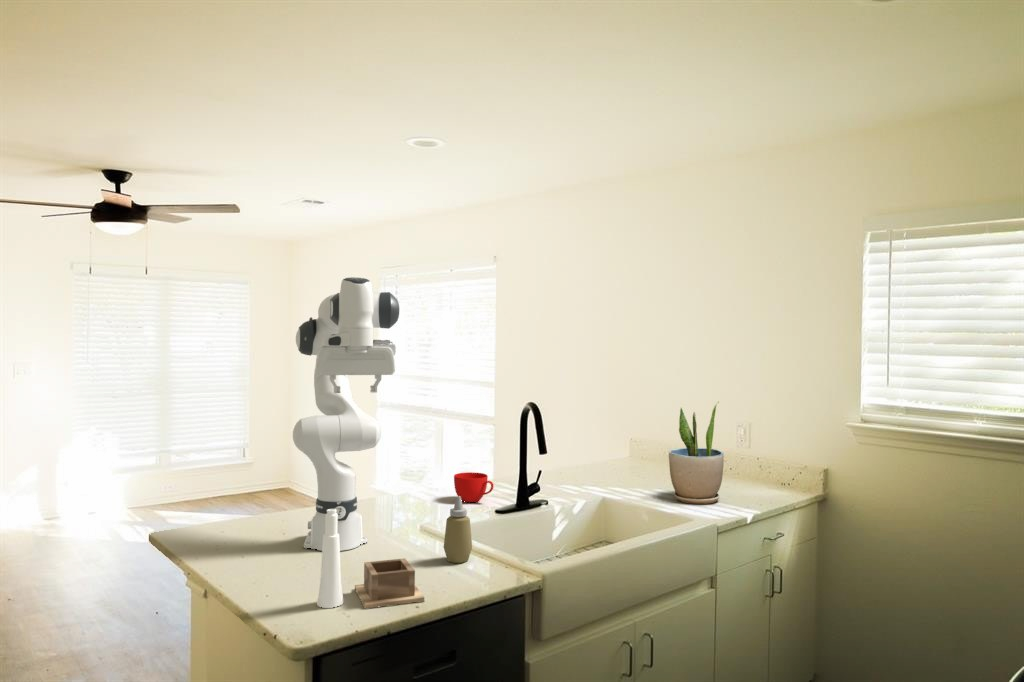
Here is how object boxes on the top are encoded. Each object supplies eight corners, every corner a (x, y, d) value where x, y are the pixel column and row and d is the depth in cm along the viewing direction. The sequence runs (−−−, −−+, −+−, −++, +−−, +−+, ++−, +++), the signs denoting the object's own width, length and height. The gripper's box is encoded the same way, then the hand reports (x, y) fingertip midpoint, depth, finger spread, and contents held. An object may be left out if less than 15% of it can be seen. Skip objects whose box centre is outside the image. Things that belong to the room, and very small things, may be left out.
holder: (354, 589, 178) (355, 560, 178) (410, 582, 183) (410, 555, 183) (364, 609, 165) (365, 578, 165) (424, 601, 170) (424, 572, 170)
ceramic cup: (482, 508, 266) (483, 481, 266) (446, 502, 275) (447, 475, 275) (502, 502, 277) (502, 476, 277) (466, 496, 286) (467, 471, 286)
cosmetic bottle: (311, 604, 167) (312, 510, 167) (331, 597, 172) (332, 505, 172) (329, 610, 164) (330, 514, 164) (349, 602, 169) (350, 509, 169)
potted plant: (665, 504, 278) (667, 400, 278) (670, 492, 298) (671, 396, 298) (722, 508, 272) (724, 402, 271) (723, 496, 292) (724, 398, 292)
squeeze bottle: (448, 566, 197) (449, 500, 197) (439, 557, 205) (440, 494, 205) (476, 563, 201) (477, 498, 201) (466, 554, 208) (467, 492, 208)
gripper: (393, 339, 194) (392, 391, 194) (314, 339, 186) (314, 392, 186) (398, 340, 188) (397, 393, 188) (317, 339, 181) (317, 394, 181)
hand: (355, 392), depth 187 cm, fingers open, 8 cm apart
